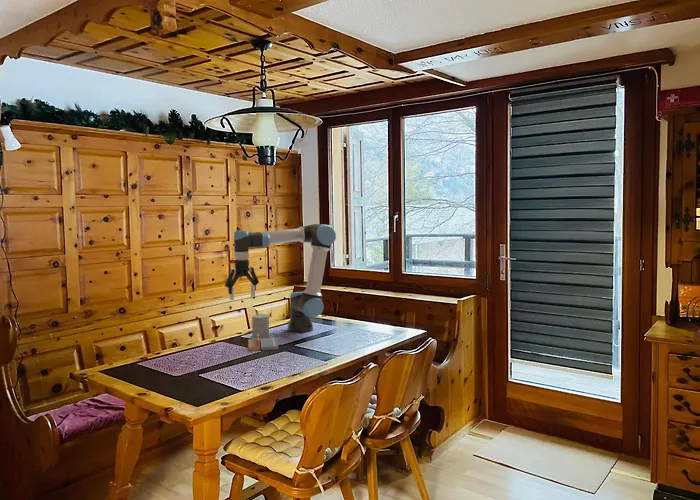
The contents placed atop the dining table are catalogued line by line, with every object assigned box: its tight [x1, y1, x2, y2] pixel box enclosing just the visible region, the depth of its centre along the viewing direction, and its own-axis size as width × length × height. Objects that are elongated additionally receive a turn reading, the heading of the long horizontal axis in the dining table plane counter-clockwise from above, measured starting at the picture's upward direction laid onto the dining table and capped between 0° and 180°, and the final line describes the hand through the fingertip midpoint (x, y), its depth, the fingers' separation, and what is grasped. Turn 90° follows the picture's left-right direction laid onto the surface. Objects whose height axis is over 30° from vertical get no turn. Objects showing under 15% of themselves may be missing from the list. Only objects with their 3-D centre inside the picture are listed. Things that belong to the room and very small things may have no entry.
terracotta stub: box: [247, 337, 261, 351], centre depth 285 cm, size 6×8×5 cm
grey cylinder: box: [251, 313, 270, 340], centre depth 308 cm, size 10×10×12 cm
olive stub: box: [247, 333, 259, 343], centre depth 293 cm, size 6×8×5 cm
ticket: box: [259, 337, 280, 351], centre depth 291 cm, size 9×18×2 cm, turn 11°
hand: (242, 298), depth 293 cm, fingers open, 13 cm apart
